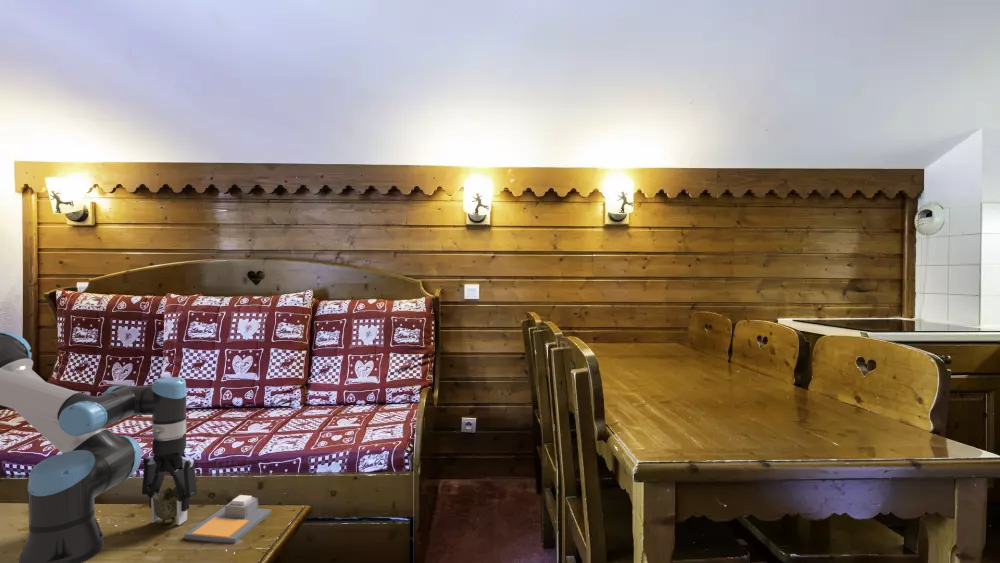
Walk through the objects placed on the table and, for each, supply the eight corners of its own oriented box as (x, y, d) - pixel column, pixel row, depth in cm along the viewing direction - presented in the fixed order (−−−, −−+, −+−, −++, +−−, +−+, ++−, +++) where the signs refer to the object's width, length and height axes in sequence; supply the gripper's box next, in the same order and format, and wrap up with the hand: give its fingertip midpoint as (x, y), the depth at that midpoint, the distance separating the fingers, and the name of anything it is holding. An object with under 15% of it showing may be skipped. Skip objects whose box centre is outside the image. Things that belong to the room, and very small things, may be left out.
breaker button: (231, 512, 132) (231, 500, 132) (239, 506, 135) (240, 494, 135) (243, 513, 131) (243, 501, 131) (251, 507, 135) (251, 495, 134)
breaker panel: (184, 538, 122) (184, 522, 122) (225, 509, 137) (225, 495, 137) (235, 543, 120) (235, 526, 120) (271, 513, 135) (271, 498, 135)
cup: (169, 530, 125) (169, 500, 125) (145, 527, 127) (145, 497, 127) (192, 516, 133) (192, 487, 132) (169, 513, 134) (170, 485, 134)
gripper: (124, 438, 127) (123, 525, 127) (192, 443, 124) (192, 531, 125) (148, 429, 134) (148, 511, 135) (213, 433, 132) (212, 517, 132)
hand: (169, 520), depth 130 cm, fingers closed on cup, 7 cm apart
